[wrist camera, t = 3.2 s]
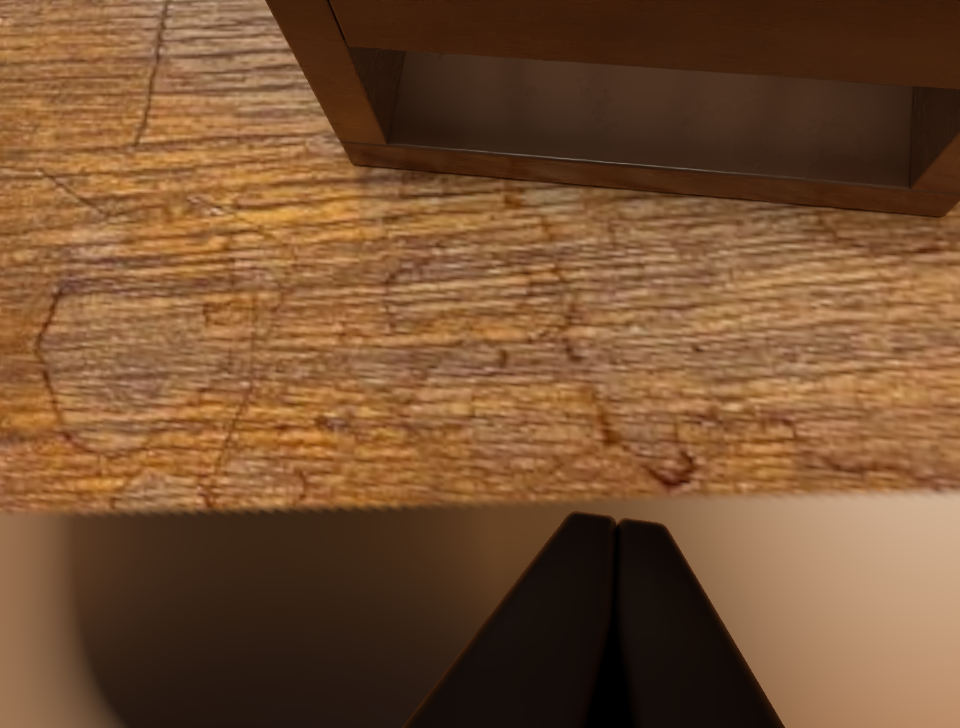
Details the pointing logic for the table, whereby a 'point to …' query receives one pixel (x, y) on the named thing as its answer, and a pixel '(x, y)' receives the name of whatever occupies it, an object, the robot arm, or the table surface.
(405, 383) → the table surface
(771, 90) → the walnut rack
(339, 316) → the table surface
